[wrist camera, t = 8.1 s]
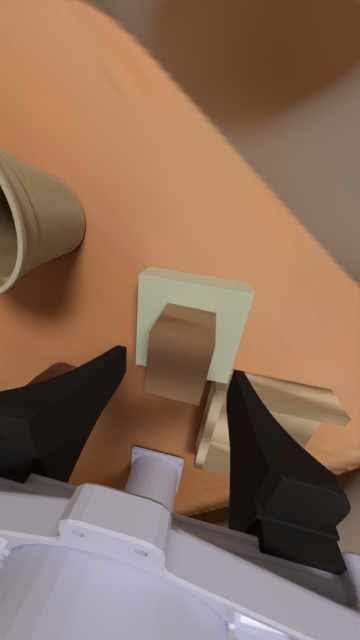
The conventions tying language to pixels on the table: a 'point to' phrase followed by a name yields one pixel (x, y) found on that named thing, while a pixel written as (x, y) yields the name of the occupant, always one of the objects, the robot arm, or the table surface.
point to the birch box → (282, 402)
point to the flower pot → (34, 219)
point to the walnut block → (180, 353)
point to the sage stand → (198, 293)
